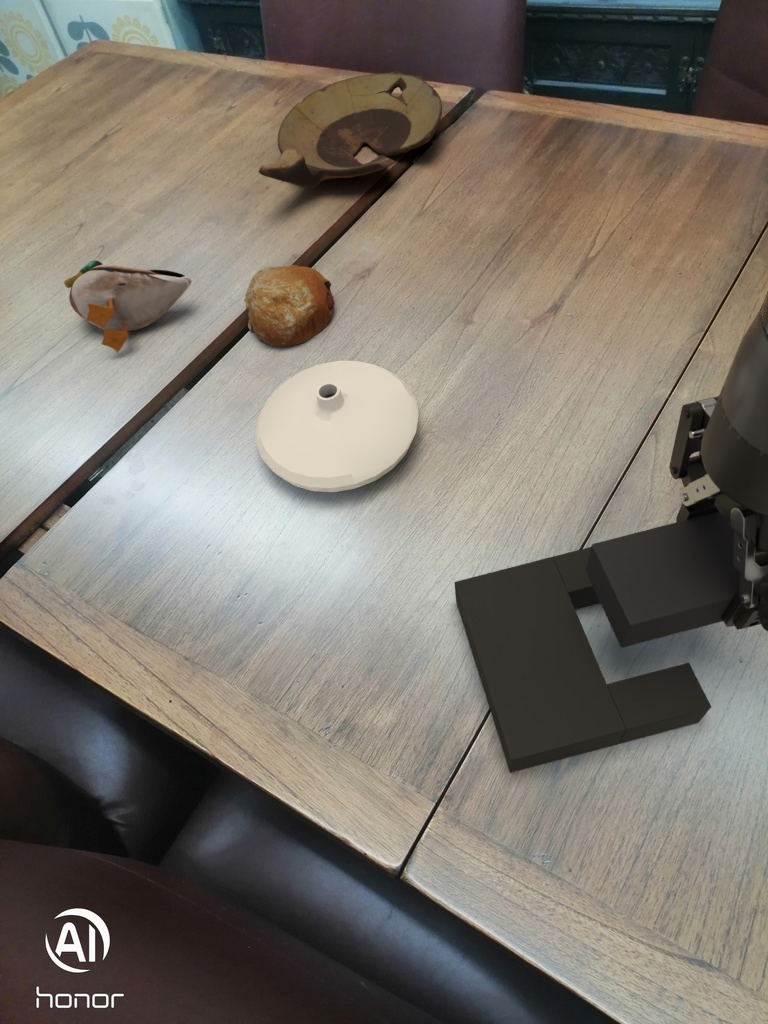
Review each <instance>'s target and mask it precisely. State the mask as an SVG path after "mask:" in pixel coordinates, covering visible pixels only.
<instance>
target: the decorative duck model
mask: <svg viewBox="0 0 768 1024" xmlns="http://www.w3.org/2000/svg"><path fill="white" fill-rule="evenodd" d="M63 284H64V286H65V287H66V288H67V289H70V291H69V295H68V296H69V297H68V299H69V303H70V306H71V308H72V309H73V311H74V312H75V313H76V314H77V315H78V316H80V317H81V318H82V319H84V320H85V321H86V322H88V323H89V324H91V325H92V326H95V327H96V328H99V329H101V330H102V331H103V339H102V341H101V345H103V346H107V347H109V348H111V349H113V350H114V351H116V353H119V351H120V350H122V348H123V346H124V344H125V342H126V340H127V339H128V338H129V337H130V334H131V331H133V332H134V331H138V330H140V329H143V328H146V327H147V326H149V325H152V323H154V322H156V321H157V320H158V319H159V318H160V317H162V316H163V315H164V314H166V312H168V311H169V309H170V308H172V306H174V304H175V303H177V302H178V300H180V299H181V297H182V296H183V295H184V294H185V292H186V291H187V290H188V289H189V287H190V286H191V285H192V279H191V278H190V277H185V275H184V274H182V273H180V272H176V271H172V270H167V269H166V270H165V269H154V268H153V269H152V268H139V267H130V266H124V265H120V264H114V263H113V264H112V263H102V262H101V261H99V260H91V261H89V262H88V263H86V265H84V266H83V267H81V268H80V270H79V271H78V272H77V273H76V274H75V275H72V276H70V277H68V278H67V279H65V280H64V281H63Z"/></svg>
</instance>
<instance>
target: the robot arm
mask: <svg viewBox="0 0 768 1024" xmlns="http://www.w3.org/2000/svg"><path fill="white" fill-rule="evenodd" d="M723 382H724V383H723V385H722V388H721V390H720V393H719V395H718V396H714V397H708V398H704V399H700V400H696V401H694V402H689V403H686V404H683V405H682V406H681V410H680V415H679V420H678V425H677V429H676V433H675V438H674V443H673V447H672V452H671V456H670V461H669V466H668V468H669V473H670V475H671V477H672V478H673V480H681V483H682V485H683V487H682V488H680V490H679V498H680V500H681V504H680V507H679V510H678V513H677V515H676V517H675V523H676V522H680V521H684V520H689V519H693V518H697V517H700V516H704V515H708V514H712V513H716V512H720V514H721V515H722V516H723V517H724V518H725V519H726V520H727V521H728V523H729V525H730V527H731V530H732V532H733V534H734V545H733V562H732V565H733V567H734V568H735V569H736V570H737V571H738V572H739V573H740V582H739V591H738V592H736V593H735V595H734V596H733V598H732V600H731V602H730V604H729V605H728V607H727V608H726V610H725V611H724V613H723V614H722V616H721V618H722V620H723V621H722V622H723V623H724V626H725V627H726V628H730V627H735V629H736V630H737V631H739V630H744V629H747V628H751V627H755V626H759V625H761V627H762V628H763V629H764V630H765V631H766V632H768V581H767V582H764V583H760V581H761V579H762V578H763V577H765V576H768V291H767V293H766V294H765V297H764V300H763V302H762V304H761V306H760V309H759V311H758V313H757V314H756V316H755V317H754V319H753V321H752V323H751V324H750V325H749V327H748V328H747V330H746V332H745V334H744V335H743V337H742V339H741V341H740V343H739V345H738V348H737V350H736V352H735V355H734V358H733V361H732V363H731V365H730V368H729V370H728V373H727V375H726V378H725V380H724V381H723ZM696 453H698V455H694V456H692V455H693V454H696ZM755 551H759V552H761V553H757V554H755Z"/></svg>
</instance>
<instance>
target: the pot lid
mask: <svg viewBox="0 0 768 1024" xmlns="http://www.w3.org/2000/svg"><path fill="white" fill-rule="evenodd" d="M419 416H420V413H419V408H418V403H417V399H416V397H415V395H414V394H413V392H412V390H411V388H410V387H409V386H408V384H407V383H406V382H405V381H404V380H402V379H401V378H400V377H399V376H398V375H396V374H395V373H393V372H391V371H389V370H387V369H386V368H384V367H381V366H379V365H377V364H373V363H370V362H369V363H368V362H365V361H364V362H363V361H360V360H335V361H330V362H329V361H328V362H324V363H319V364H316V365H313V366H310V367H309V368H304V369H302V370H301V371H299V372H297V373H296V374H294V375H292V376H291V377H289V378H288V379H286V380H285V381H284V382H283V383H281V385H279V386H278V387H277V388H276V389H275V390H274V391H273V392H272V394H270V396H269V397H268V399H267V401H266V402H265V404H264V405H263V407H262V408H261V410H260V412H259V415H258V418H257V422H256V424H255V444H256V448H257V450H258V452H259V455H260V457H261V459H262V460H263V462H264V463H265V464H266V465H267V467H268V468H269V469H270V470H271V471H272V472H273V473H274V474H276V476H278V477H279V478H281V479H283V480H284V481H286V482H287V483H289V484H291V485H293V486H294V487H298V488H301V489H304V490H308V491H312V492H322V493H323V492H324V493H337V492H338V493H339V492H342V491H349V490H354V489H355V490H356V489H358V488H360V487H363V486H366V485H368V484H370V483H373V482H376V481H377V480H378V479H380V478H382V477H383V476H384V475H387V473H389V472H390V471H392V470H393V469H394V468H395V467H396V466H397V465H398V464H399V463H400V462H401V460H402V459H403V458H404V457H405V456H406V455H407V454H408V451H409V449H410V447H411V445H412V443H413V441H414V438H415V436H416V433H417V430H418V424H419V423H418V422H419Z"/></svg>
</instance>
